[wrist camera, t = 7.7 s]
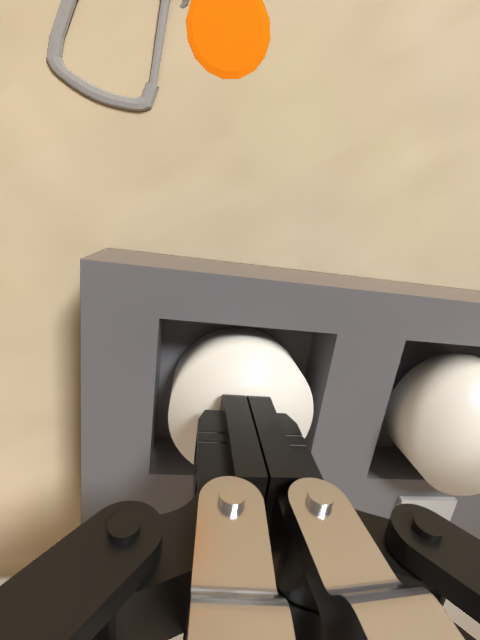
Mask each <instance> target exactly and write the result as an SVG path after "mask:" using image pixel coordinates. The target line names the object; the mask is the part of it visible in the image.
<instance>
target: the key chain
mask: <svg viewBox="0 0 480 640" xmlns="http://www.w3.org/2000/svg"><path fill="white" fill-rule="evenodd" d="M76 2H77V0H61V3H60V6H59V9H58V12H57V15H56V18H55V21H54V24H53V27H52V30H51V33H50V36H49V43H48V51H47V58H46V60H47V62H48V64H49V66H50V68H51V69H52V70H53V72H54V73H55V74H56V75H57V76H58V77H59V78H61V79H62V80H63V81H65V82H66V83H67V84H68V85H70V86H71V87H73V88H74V89H75V90H77V91H78V92H80V93H82V94H83V95H85V96H87V97H89V98H91V99H93V100H95V101H97V102H99V103H102V104H105V105H108V106H112V107H116V108H120V109H125V110H130V111H146V110H149V109H151V108H152V105H153V103H154V100H155V97H156V94H157V91H158V89H159V87H158V86H156V85H157V79H158V73H159V66H160V60H161V54H162V47H163V41H164V35H165V28H166V22H167V15H168V9H169V3H170V0H161V4H160V11H159V18H158V25H157V32H156V39H155V46H154V53H153V60H152V67H151V74H150V81H149V82H146V85H145V88H144V90H143V93H142V96H141V97H137V98H129V97H125V96H121V95H117V94H114V93H111V92H108V91H105V90H103V89H100V88H98V87H96V86H94V85H92V84H90V83H88V82H87V81H85V80H83V79H82V78H80V77H79V76H77V75H76V74H74V73H73V72H71V71H70V70H69V69H67V67H66V66H65V65H64V62H63V60H62V52H63V45H64V38H65V35H66V32H67V29H68V26H69V23H70V20H71V17H72V14H73V11H74V8H75V5H76ZM188 3H189V0H183V2H182V4H181V5H180V7H181V8H184V7H186V6H187V5H188ZM186 25H187V38H188V42H189V44H190V47H191V49H192V52H193V54H194V56H195V58H196V59H197V61H198V62H199V63H200V64H201V65H202V66H203V67H204V68H205V69H206V70H207V71H208V72H209V73H212V74H214V75H216V76H218V77H220V78H222V79H240V78H242V77H243V76H245V75H247V74H249V73H251V72H253V71H254V70H255V69H256V68H257V66H258V65H259V64H260V63H261V61H262V60H263V59H264V58H265V55H266V51H267V48H268V45H269V41H270V19H269V16H268V14H267V11H266V8H265V6H264V3H263V0H191V3H190V7H189V11H188V15H187V18H186Z"/></svg>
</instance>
